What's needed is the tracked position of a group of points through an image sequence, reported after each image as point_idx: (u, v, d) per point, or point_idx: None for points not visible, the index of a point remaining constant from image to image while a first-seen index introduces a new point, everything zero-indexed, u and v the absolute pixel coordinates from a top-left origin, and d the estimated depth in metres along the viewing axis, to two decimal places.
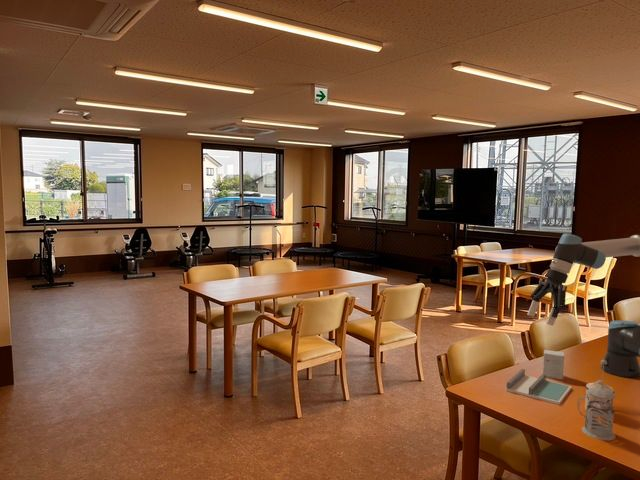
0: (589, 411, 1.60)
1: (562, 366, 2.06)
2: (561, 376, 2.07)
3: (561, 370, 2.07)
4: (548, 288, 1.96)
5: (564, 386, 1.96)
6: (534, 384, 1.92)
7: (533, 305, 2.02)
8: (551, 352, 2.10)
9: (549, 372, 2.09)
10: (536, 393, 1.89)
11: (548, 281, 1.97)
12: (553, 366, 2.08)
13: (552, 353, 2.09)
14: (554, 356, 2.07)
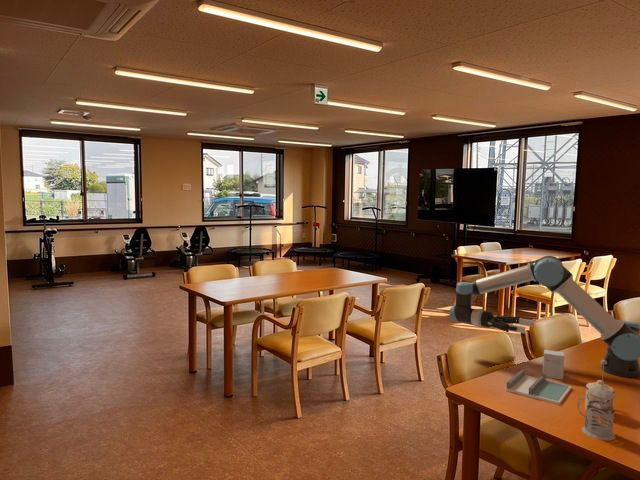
0: (589, 411, 1.60)
1: (562, 366, 2.06)
2: (561, 376, 2.07)
3: (561, 370, 2.07)
4: None
5: (564, 386, 1.96)
6: (534, 384, 1.92)
7: (523, 323, 2.23)
8: (551, 352, 2.10)
9: (549, 372, 2.09)
10: (536, 393, 1.89)
11: None
12: (553, 366, 2.08)
13: (552, 353, 2.09)
14: (554, 356, 2.07)
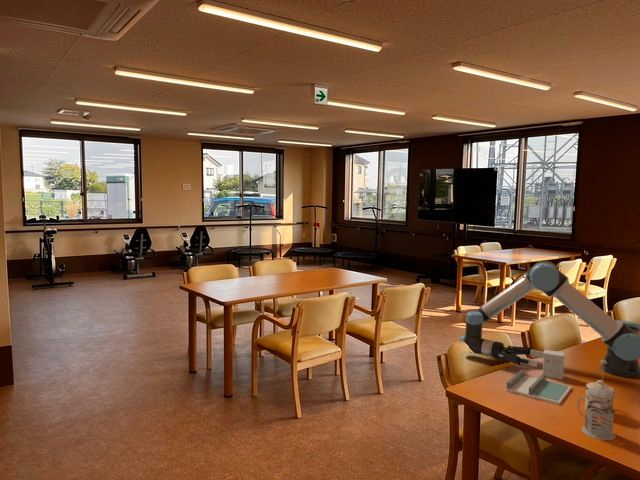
0: (589, 411, 1.60)
1: (562, 366, 2.06)
2: (561, 376, 2.07)
3: (561, 370, 2.07)
4: None
5: (564, 386, 1.96)
6: (534, 384, 1.92)
7: (534, 355, 2.21)
8: (551, 352, 2.10)
9: (549, 372, 2.09)
10: (536, 393, 1.89)
11: None
12: (553, 366, 2.08)
13: (552, 353, 2.09)
14: (554, 356, 2.07)
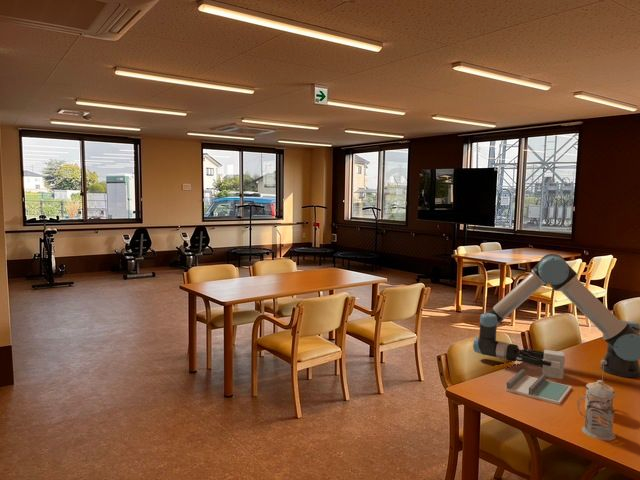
0: (589, 411, 1.60)
1: (562, 366, 2.06)
2: (561, 376, 2.07)
3: (561, 370, 2.07)
4: None
5: (564, 386, 1.96)
6: (534, 384, 1.92)
7: None
8: (551, 352, 2.10)
9: (549, 371, 2.09)
10: (536, 393, 1.89)
11: None
12: None
13: (552, 353, 2.09)
14: (554, 356, 2.07)
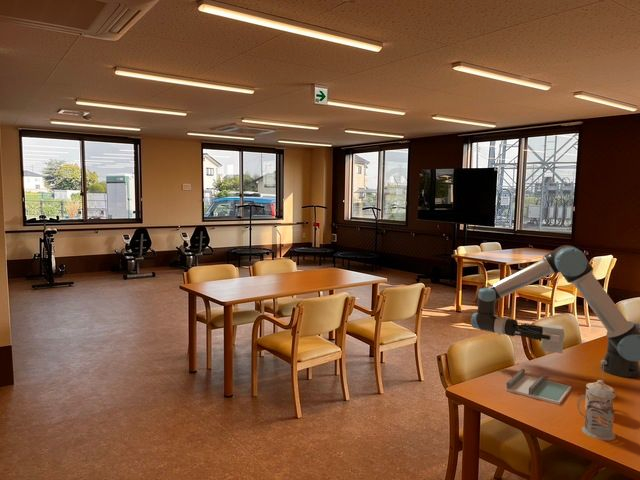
0: (589, 411, 1.60)
1: (561, 340, 2.02)
2: (560, 350, 2.02)
3: (560, 344, 2.02)
4: None
5: (564, 386, 1.96)
6: (534, 384, 1.92)
7: None
8: (550, 326, 2.05)
9: (548, 345, 2.04)
10: (536, 393, 1.89)
11: None
12: None
13: (551, 326, 2.04)
14: (553, 330, 2.03)
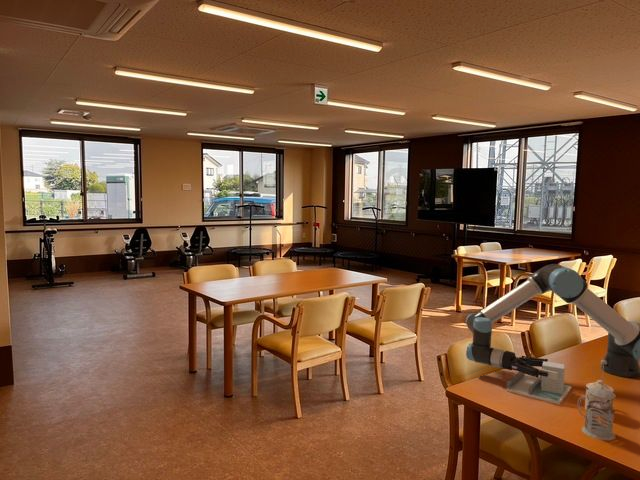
0: (589, 411, 1.60)
1: (562, 380, 1.88)
2: (561, 391, 1.88)
3: (561, 384, 1.88)
4: None
5: (564, 386, 1.96)
6: (534, 384, 1.92)
7: None
8: (550, 364, 1.91)
9: (548, 385, 1.90)
10: (536, 393, 1.89)
11: None
12: (552, 379, 1.89)
13: (551, 365, 1.90)
14: (553, 369, 1.89)
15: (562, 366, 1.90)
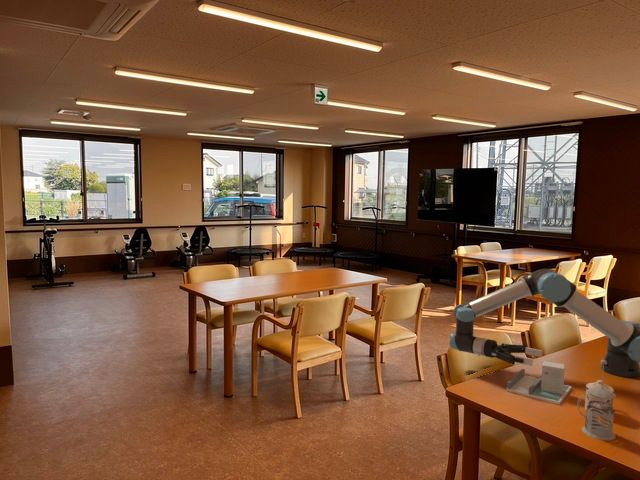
0: (589, 411, 1.60)
1: (562, 380, 1.88)
2: (561, 391, 1.88)
3: (561, 384, 1.88)
4: None
5: (564, 386, 1.96)
6: (534, 384, 1.92)
7: (530, 353, 2.05)
8: (550, 364, 1.91)
9: (548, 385, 1.90)
10: (536, 393, 1.89)
11: None
12: (552, 379, 1.89)
13: (551, 365, 1.90)
14: (553, 369, 1.89)
15: (562, 366, 1.90)
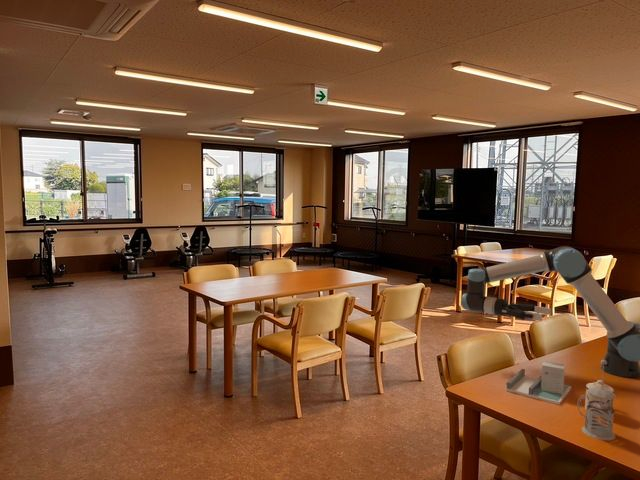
0: (589, 411, 1.60)
1: (562, 380, 1.88)
2: (561, 391, 1.88)
3: (561, 384, 1.88)
4: None
5: (564, 386, 1.96)
6: (534, 384, 1.92)
7: (539, 311, 2.13)
8: (550, 364, 1.91)
9: (548, 385, 1.90)
10: (536, 393, 1.89)
11: None
12: (552, 379, 1.89)
13: (551, 365, 1.90)
14: (553, 369, 1.89)
15: (562, 366, 1.90)
